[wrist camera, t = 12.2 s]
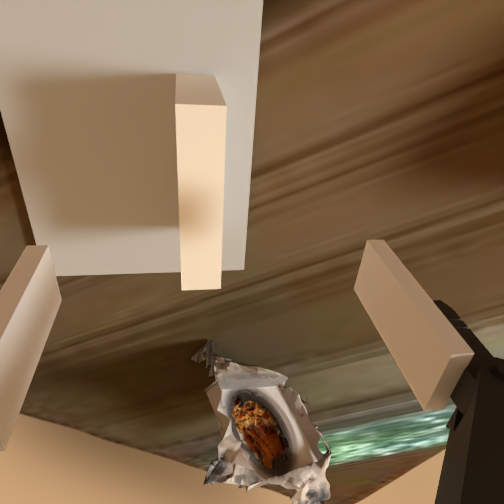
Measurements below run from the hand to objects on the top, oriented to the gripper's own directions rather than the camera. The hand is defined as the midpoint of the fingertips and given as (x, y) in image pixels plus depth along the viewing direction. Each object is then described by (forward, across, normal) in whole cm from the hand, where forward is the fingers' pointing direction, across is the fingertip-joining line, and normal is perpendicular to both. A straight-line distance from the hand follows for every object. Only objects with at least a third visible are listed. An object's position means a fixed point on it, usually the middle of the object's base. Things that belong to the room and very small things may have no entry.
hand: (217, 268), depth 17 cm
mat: (+14, -4, 0) cm, 15 cm away
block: (+14, 0, 0) cm, 14 cm away
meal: (+15, +6, -25) cm, 30 cm away
